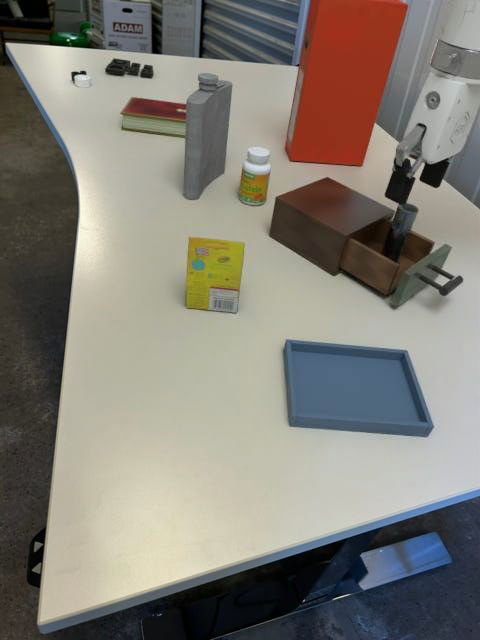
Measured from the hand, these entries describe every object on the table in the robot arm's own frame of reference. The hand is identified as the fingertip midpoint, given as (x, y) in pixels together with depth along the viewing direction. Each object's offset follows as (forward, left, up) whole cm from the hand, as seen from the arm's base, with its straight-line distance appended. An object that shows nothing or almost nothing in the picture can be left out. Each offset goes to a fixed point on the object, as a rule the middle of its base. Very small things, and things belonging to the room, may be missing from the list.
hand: (412, 192), depth 69 cm
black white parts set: (+61, -88, -15) cm, 108 cm away
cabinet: (+8, -9, -15) cm, 19 cm away
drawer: (-2, +1, -14) cm, 14 cm away
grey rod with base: (0, 0, -13) cm, 13 cm away
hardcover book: (+41, -55, -15) cm, 70 cm away
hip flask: (+31, -27, -15) cm, 44 cm away
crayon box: (+27, +11, -15) cm, 33 cm away
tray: (+9, +25, -15) cm, 31 cm away
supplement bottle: (+21, -22, -15) cm, 34 cm away
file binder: (+4, -47, -15) cm, 49 cm away
